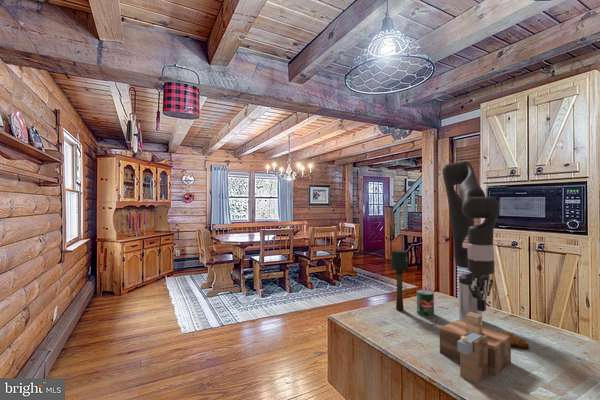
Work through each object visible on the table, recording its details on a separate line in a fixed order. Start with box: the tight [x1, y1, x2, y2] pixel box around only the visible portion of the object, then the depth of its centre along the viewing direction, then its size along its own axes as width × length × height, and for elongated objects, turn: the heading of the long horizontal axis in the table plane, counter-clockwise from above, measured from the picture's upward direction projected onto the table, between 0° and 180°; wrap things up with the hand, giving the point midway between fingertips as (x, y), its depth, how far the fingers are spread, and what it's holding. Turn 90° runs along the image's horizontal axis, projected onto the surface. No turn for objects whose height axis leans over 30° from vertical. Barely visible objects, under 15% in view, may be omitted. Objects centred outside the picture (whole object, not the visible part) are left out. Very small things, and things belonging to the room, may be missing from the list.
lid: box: [439, 312, 510, 350], centre depth 106 cm, size 13×18×7 cm
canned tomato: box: [416, 288, 435, 318], centre depth 147 cm, size 8×8×11 cm
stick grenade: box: [390, 249, 409, 312], centre depth 153 cm, size 8×9×30 cm
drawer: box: [457, 332, 482, 355], centre depth 94 cm, size 10×3×4 cm, turn 126°
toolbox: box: [439, 330, 512, 384], centre depth 103 cm, size 22×18×12 cm
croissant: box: [498, 330, 530, 350], centre depth 116 cm, size 14×7×5 cm, turn 47°
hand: (481, 310), depth 98 cm, fingers closed
